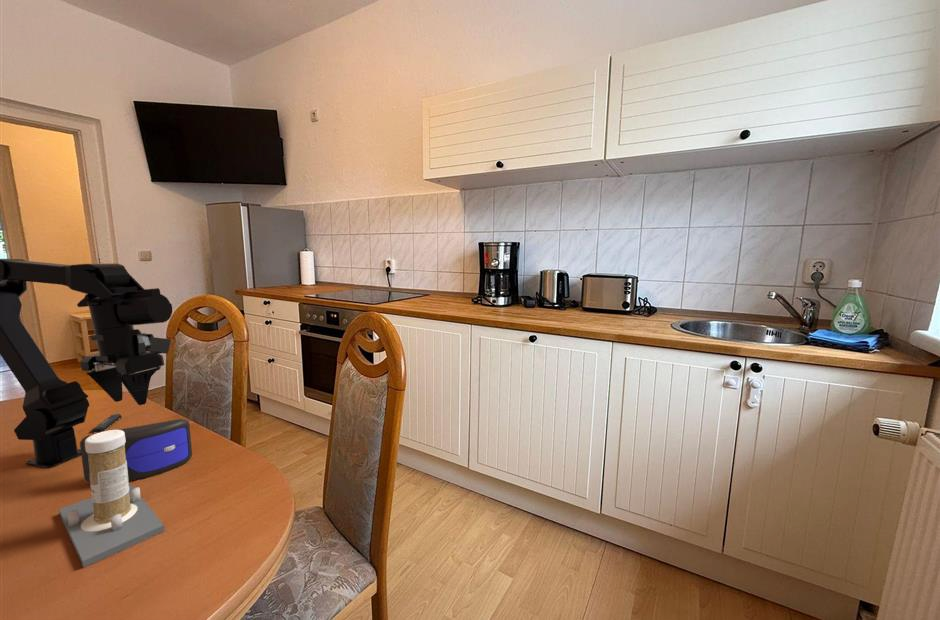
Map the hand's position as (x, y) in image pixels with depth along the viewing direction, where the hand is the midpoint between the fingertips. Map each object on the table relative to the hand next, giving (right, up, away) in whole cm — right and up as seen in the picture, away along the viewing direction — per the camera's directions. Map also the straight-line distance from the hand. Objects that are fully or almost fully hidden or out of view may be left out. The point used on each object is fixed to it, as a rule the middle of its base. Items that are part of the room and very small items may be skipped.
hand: (130, 402), depth 78 cm
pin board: (+12, -15, -17) cm, 25 cm away
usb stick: (-22, -11, +19) cm, 31 cm away
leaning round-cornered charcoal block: (+4, -13, -2) cm, 14 cm away
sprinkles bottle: (+12, -14, -16) cm, 25 cm away
